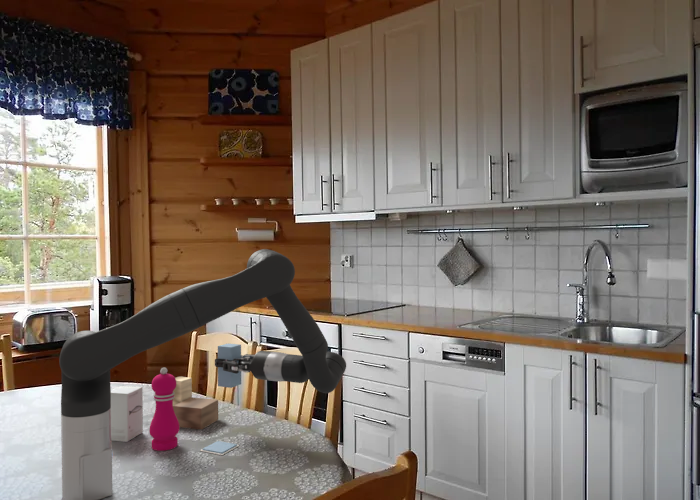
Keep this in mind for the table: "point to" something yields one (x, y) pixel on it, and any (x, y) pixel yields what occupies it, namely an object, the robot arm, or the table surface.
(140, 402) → the supplement box
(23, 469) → the table surface
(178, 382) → the oak pillar
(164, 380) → the pepper mill
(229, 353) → the blue pillar
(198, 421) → the walnut block
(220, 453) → the tile
